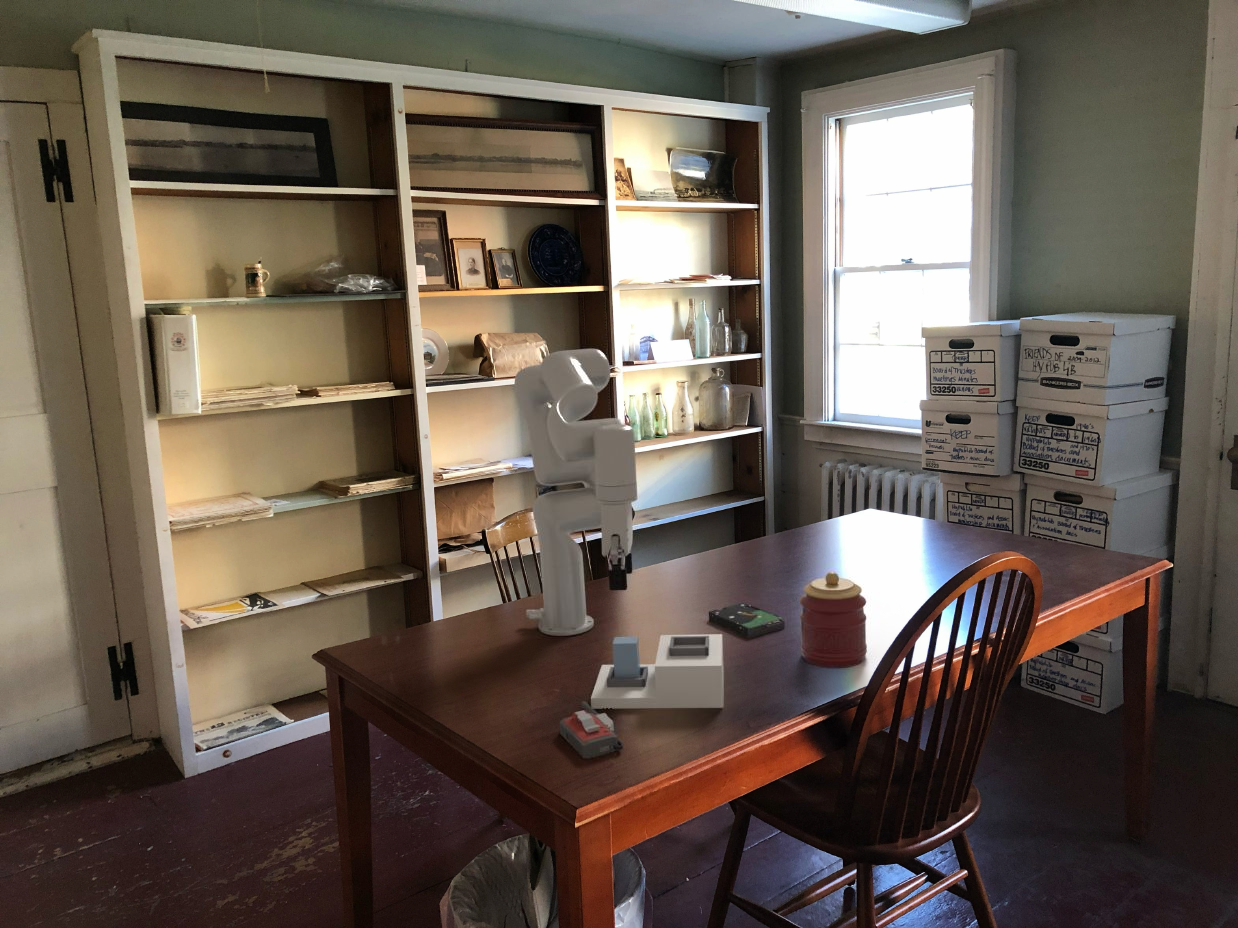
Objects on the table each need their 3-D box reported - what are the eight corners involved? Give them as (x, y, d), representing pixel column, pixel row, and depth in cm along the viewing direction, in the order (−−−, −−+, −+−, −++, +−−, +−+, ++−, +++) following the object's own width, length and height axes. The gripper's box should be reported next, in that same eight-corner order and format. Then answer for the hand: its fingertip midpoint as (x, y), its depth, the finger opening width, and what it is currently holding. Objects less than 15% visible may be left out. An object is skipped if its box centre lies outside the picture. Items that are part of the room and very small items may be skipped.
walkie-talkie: (635, 752, 159) (588, 708, 177) (633, 727, 159) (587, 686, 177) (586, 765, 156) (543, 719, 174) (584, 739, 155) (542, 696, 173)
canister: (788, 651, 198) (786, 569, 195) (843, 640, 202) (841, 559, 199) (823, 673, 186) (821, 585, 183) (880, 661, 190) (879, 575, 187)
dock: (591, 708, 176) (588, 659, 175) (602, 674, 192) (599, 628, 190) (723, 707, 173) (721, 657, 172) (723, 672, 189) (721, 626, 187)
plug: (615, 683, 182) (612, 643, 180) (617, 676, 185) (614, 636, 184) (638, 683, 181) (636, 643, 180) (640, 676, 185) (638, 636, 183)
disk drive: (707, 623, 220) (749, 640, 207) (707, 611, 219) (749, 627, 207) (743, 613, 225) (786, 629, 212) (742, 601, 224) (785, 617, 212)
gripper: (602, 482, 186) (607, 567, 189) (589, 503, 169) (595, 596, 172) (641, 481, 185) (645, 567, 188) (632, 502, 168) (637, 596, 171)
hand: (621, 581), depth 180 cm, fingers open, 9 cm apart
